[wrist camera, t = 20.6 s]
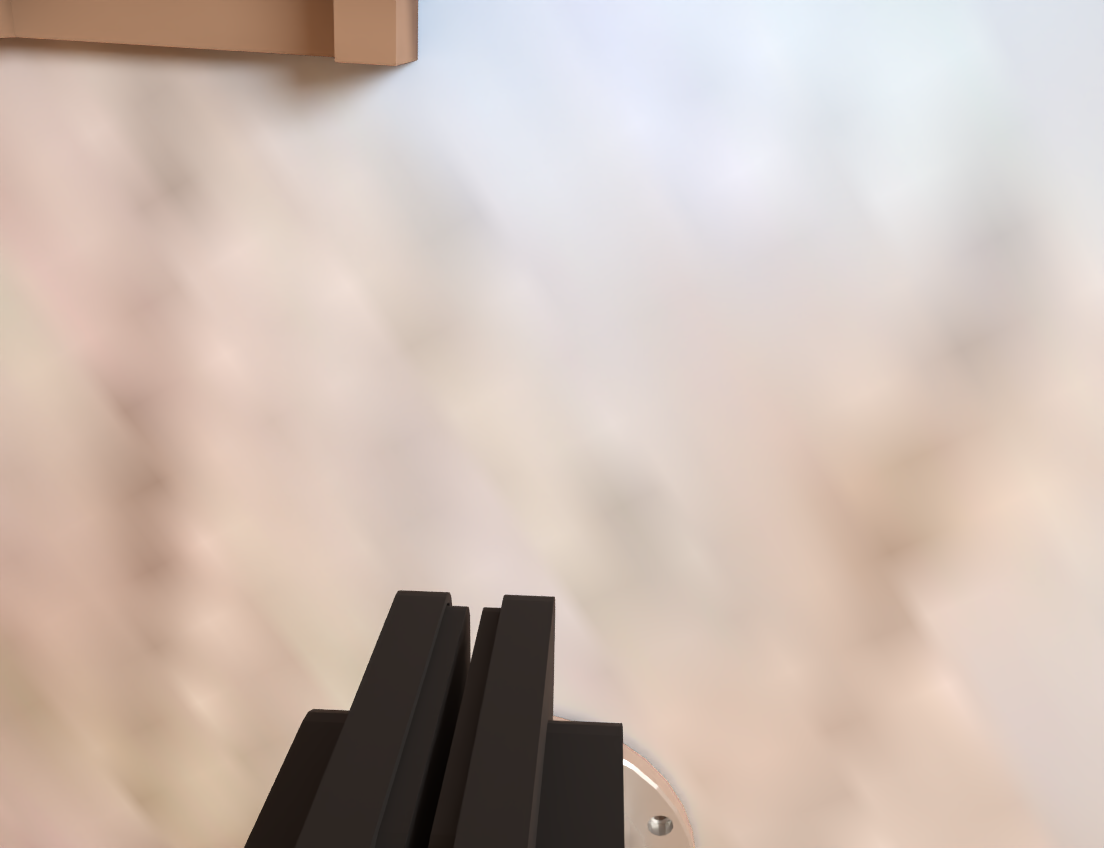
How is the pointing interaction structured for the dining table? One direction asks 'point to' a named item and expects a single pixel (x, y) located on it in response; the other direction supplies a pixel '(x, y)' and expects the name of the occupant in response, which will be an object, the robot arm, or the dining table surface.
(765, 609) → the dining table surface
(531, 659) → the robot arm
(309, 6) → the brown wooden tray
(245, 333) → the dining table surface
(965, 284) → the dining table surface
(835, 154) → the dining table surface
